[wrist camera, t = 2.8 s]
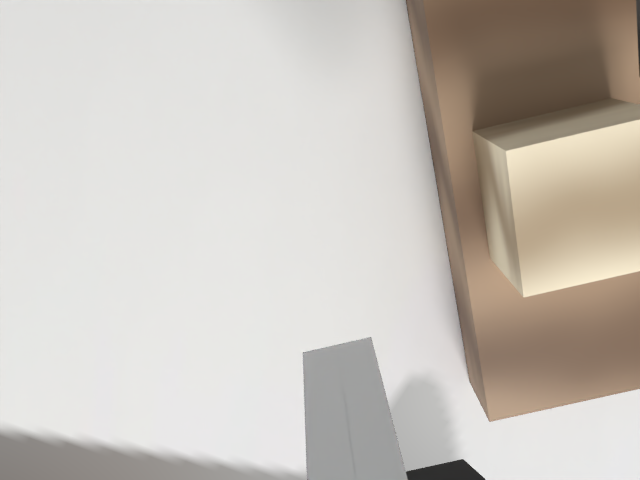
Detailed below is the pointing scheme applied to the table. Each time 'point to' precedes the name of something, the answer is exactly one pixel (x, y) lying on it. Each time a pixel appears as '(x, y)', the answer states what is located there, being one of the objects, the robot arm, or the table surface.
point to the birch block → (563, 195)
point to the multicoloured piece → (466, 201)
